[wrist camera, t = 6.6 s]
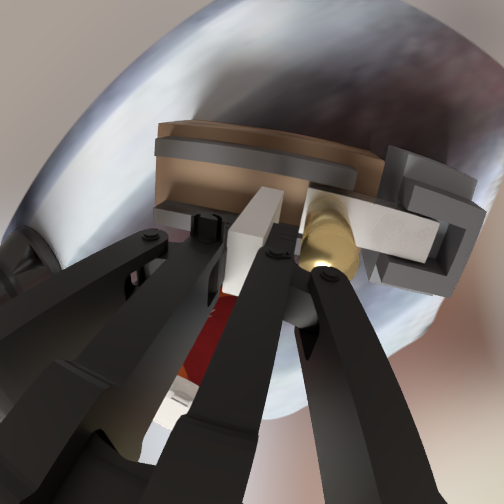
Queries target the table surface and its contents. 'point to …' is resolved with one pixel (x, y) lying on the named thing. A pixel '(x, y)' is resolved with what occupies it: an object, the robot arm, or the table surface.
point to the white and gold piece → (359, 229)
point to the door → (249, 170)
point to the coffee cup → (195, 364)
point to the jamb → (435, 206)
